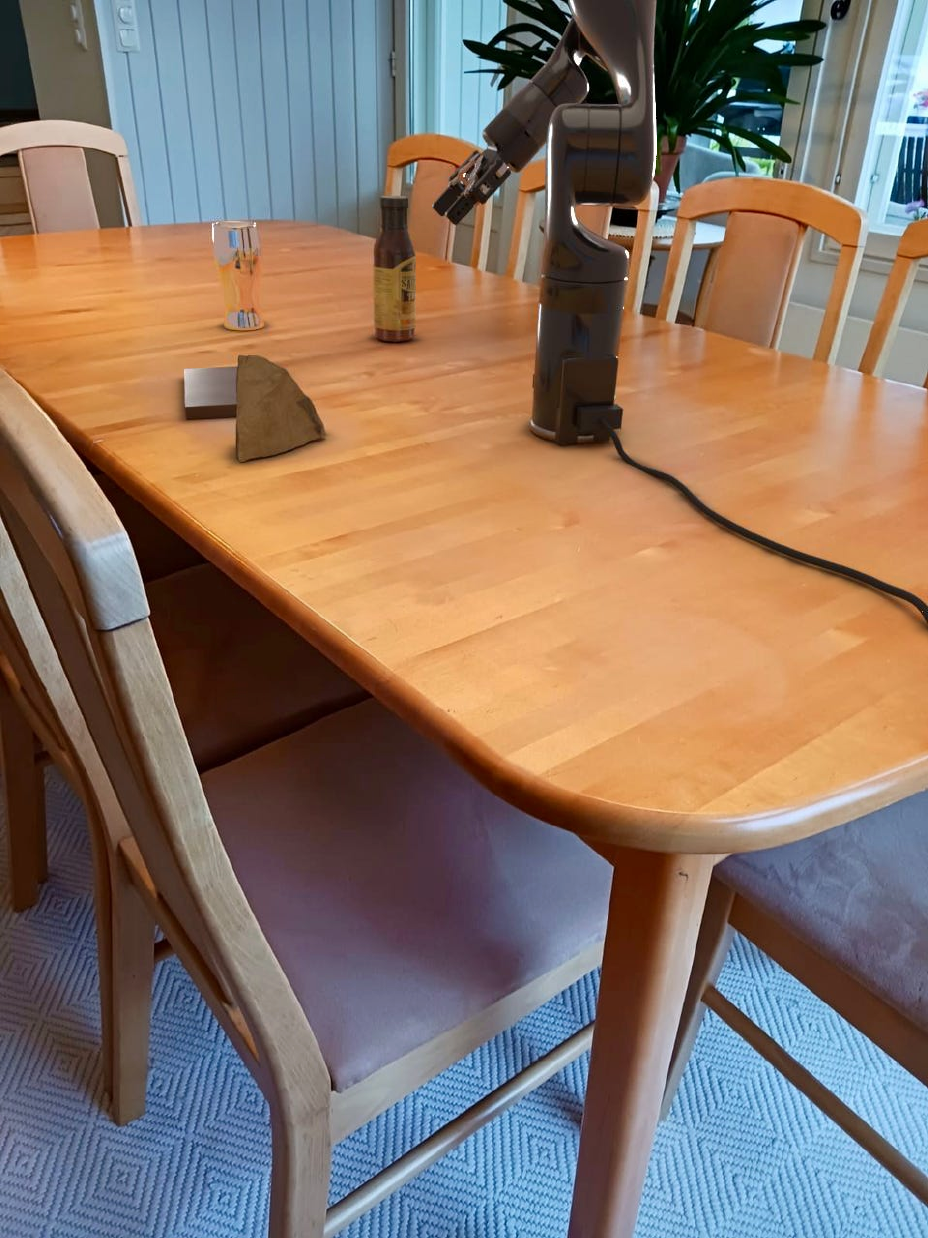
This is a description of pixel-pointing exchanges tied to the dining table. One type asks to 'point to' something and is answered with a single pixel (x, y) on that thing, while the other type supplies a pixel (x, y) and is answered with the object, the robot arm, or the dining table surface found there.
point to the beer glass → (239, 272)
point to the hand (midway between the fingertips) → (443, 215)
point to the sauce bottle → (394, 273)
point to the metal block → (210, 392)
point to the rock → (271, 410)
